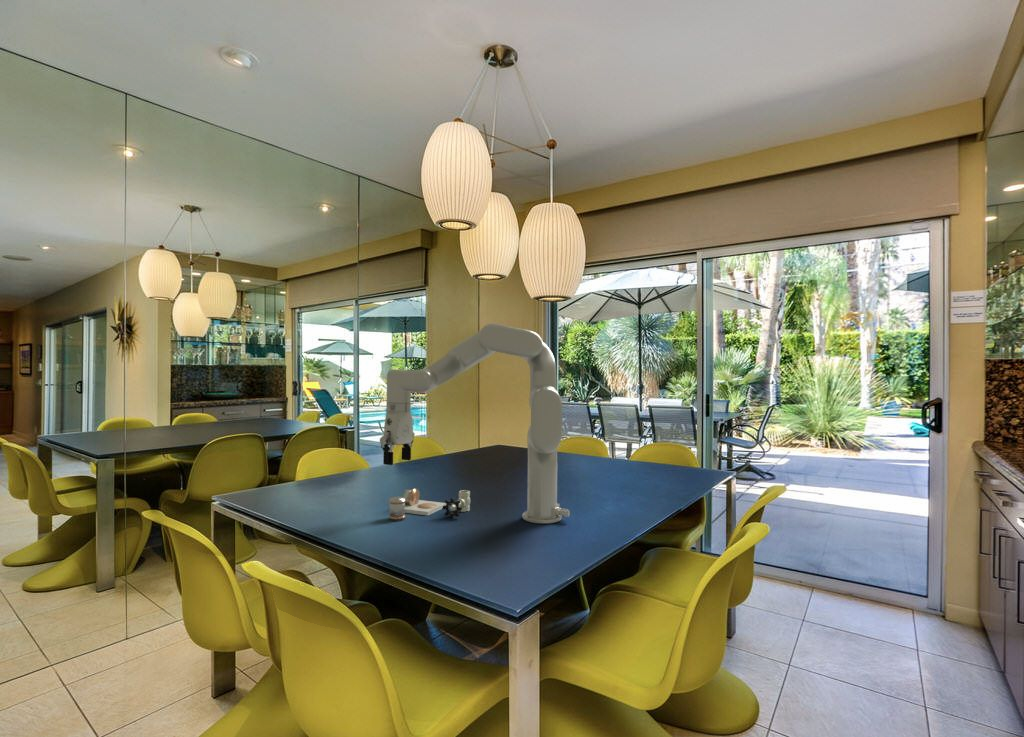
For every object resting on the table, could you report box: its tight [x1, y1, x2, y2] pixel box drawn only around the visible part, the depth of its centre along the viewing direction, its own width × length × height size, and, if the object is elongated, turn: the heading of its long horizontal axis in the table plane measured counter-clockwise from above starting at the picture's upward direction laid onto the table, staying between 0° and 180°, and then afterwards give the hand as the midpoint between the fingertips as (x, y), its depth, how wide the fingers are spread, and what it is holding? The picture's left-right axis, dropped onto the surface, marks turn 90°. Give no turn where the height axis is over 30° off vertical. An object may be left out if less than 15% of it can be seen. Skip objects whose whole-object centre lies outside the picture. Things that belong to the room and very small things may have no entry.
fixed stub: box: [401, 488, 421, 506], centre depth 172 cm, size 4×6×7 cm, turn 158°
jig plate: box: [405, 499, 446, 517], centre depth 170 cm, size 12×12×1 cm
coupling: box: [388, 496, 407, 522], centre depth 159 cm, size 5×5×6 cm
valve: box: [443, 489, 471, 519], centre depth 166 cm, size 7×7×12 cm
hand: (397, 462), depth 159 cm, fingers open, 9 cm apart
